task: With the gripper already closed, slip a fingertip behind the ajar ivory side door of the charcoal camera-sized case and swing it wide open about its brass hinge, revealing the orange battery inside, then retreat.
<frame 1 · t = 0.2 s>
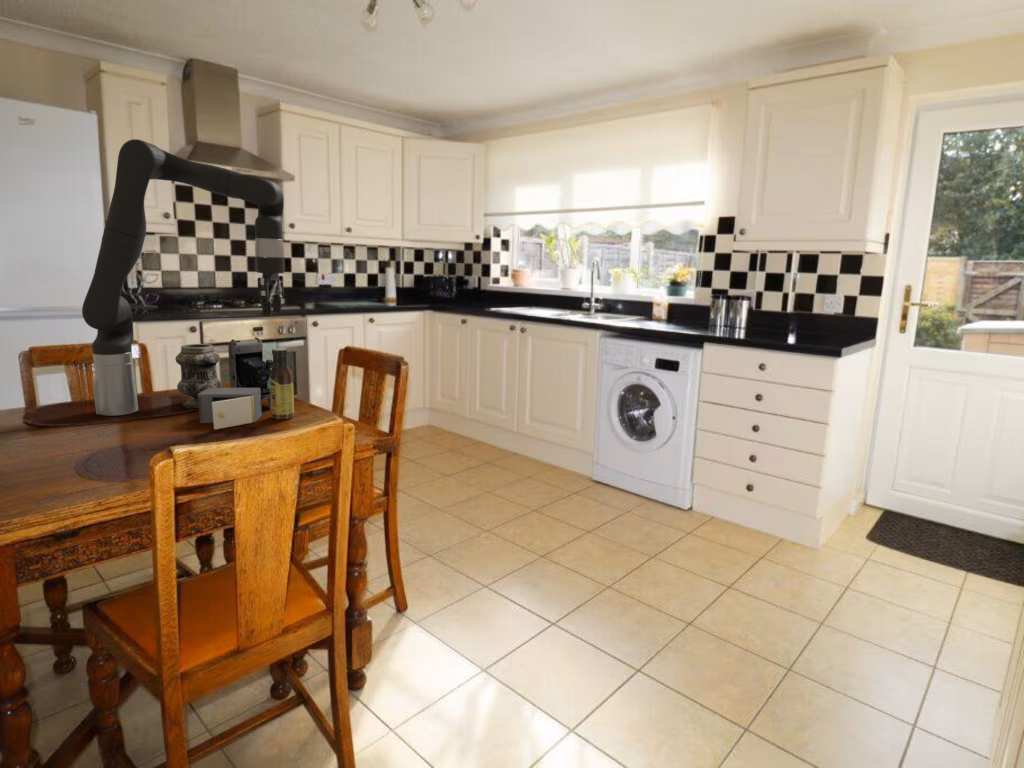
hand: (272, 313, 172), 29 cm above the table, fingers open, 8 cm apart
apothecary jar: (201, 404, 184), on the table
door: (235, 412, 161), point 4 cm above the table, hinge at 40.0°
vintage camera: (259, 405, 186), on the table
sauce bottle: (283, 418, 172), on the table
case: (231, 418, 170), on the table
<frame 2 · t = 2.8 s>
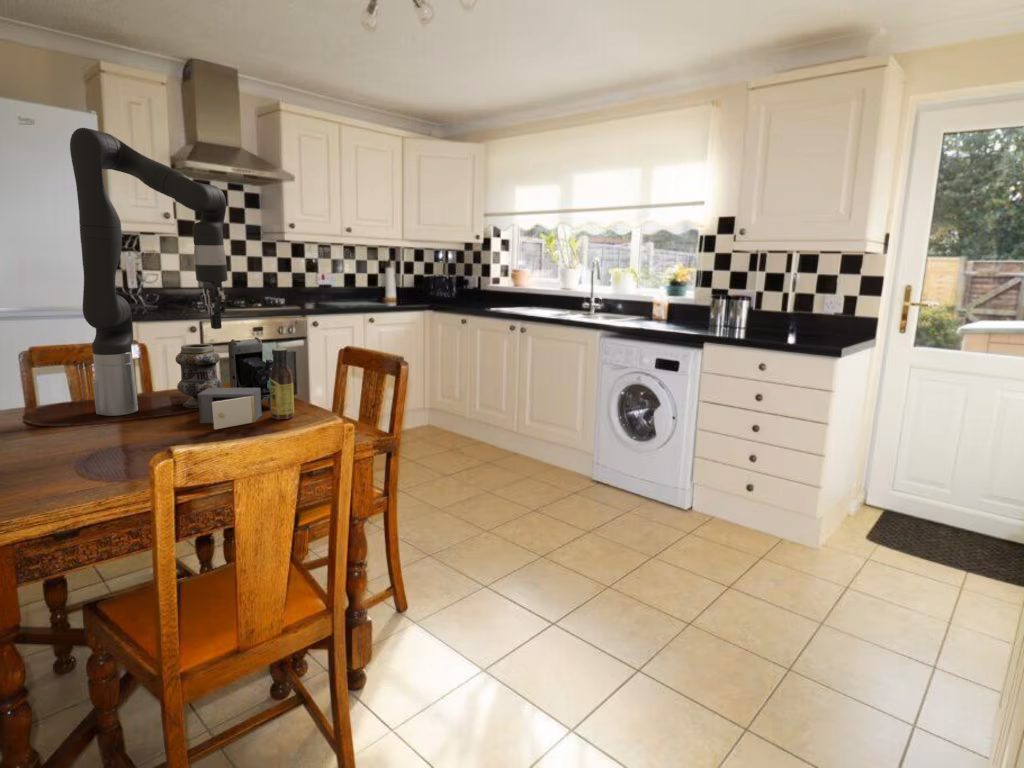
hand: (216, 328, 164), 25 cm above the table, fingers closed
nothing on the table moved.
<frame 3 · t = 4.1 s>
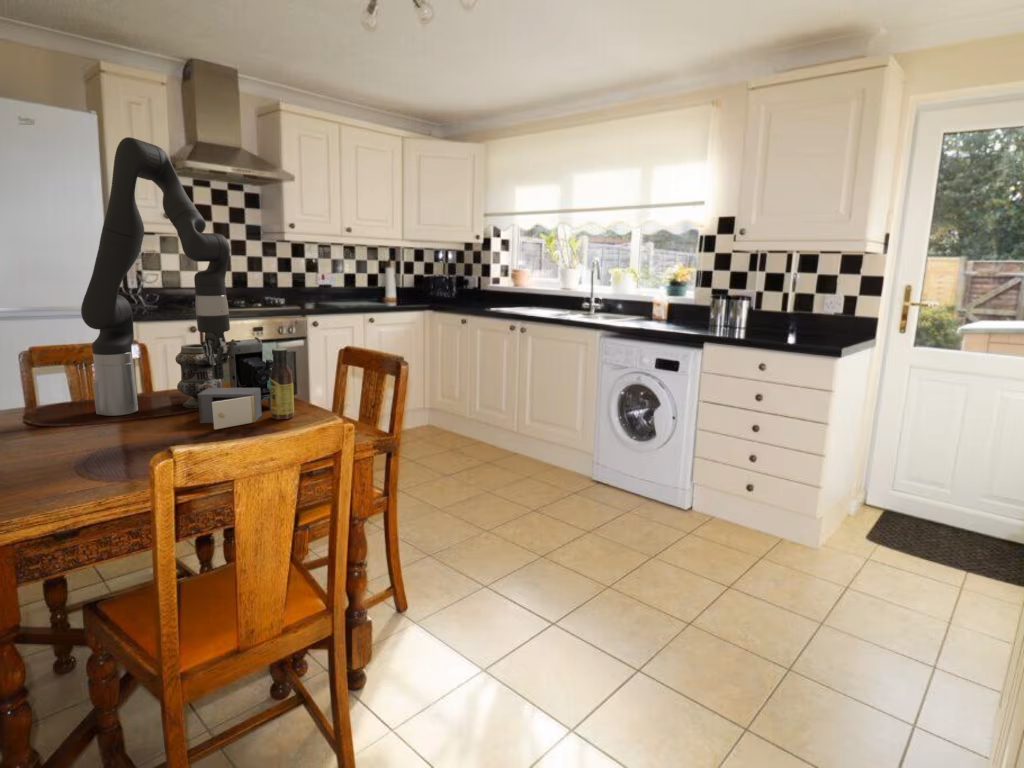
hand: (218, 378, 160), 13 cm above the table, fingers closed
nothing on the table moved.
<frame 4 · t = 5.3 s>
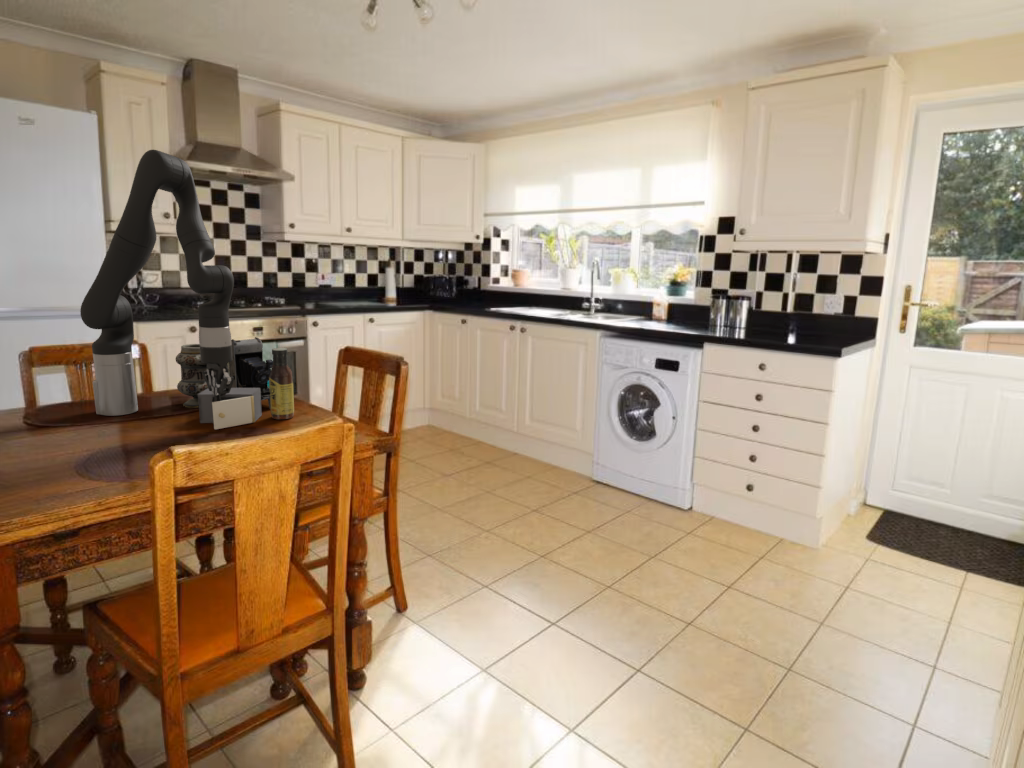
hand: (220, 408, 161), 5 cm above the table, fingers closed
door: (235, 412, 161), point 4 cm above the table, hinge at 40.4°, touching gripper
everything else where it was.
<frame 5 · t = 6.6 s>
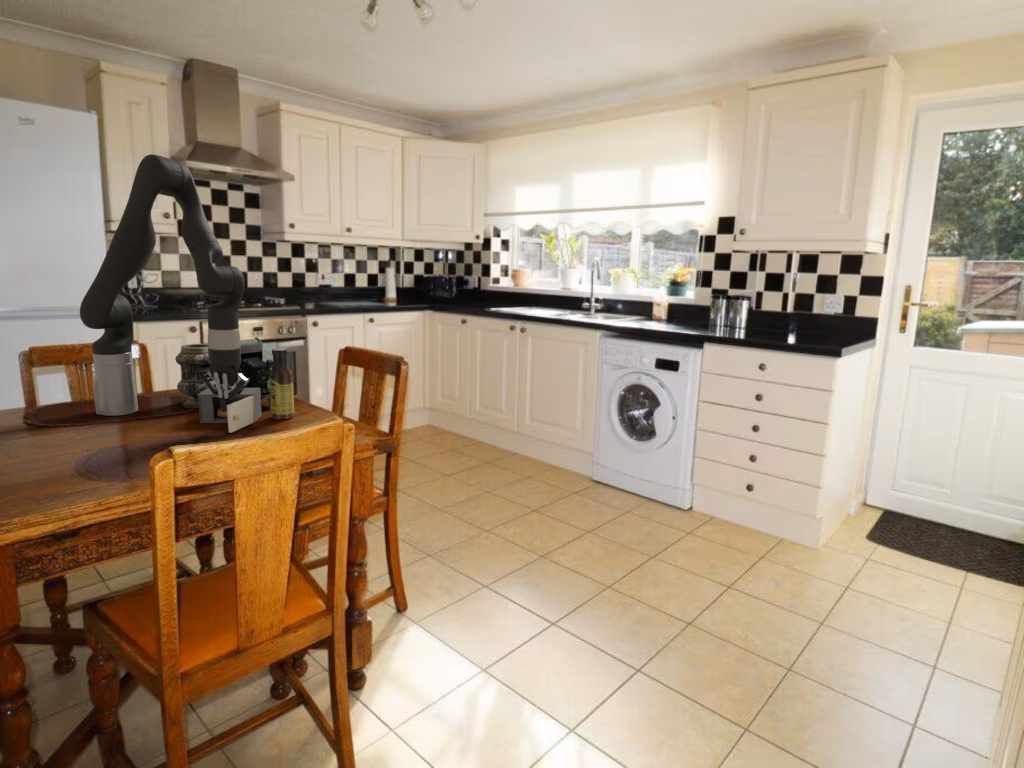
hand: (227, 411, 159), 5 cm above the table, fingers closed
door: (243, 413, 160), point 4 cm above the table, hinge at 72.9°, touching gripper
everything else where it was.
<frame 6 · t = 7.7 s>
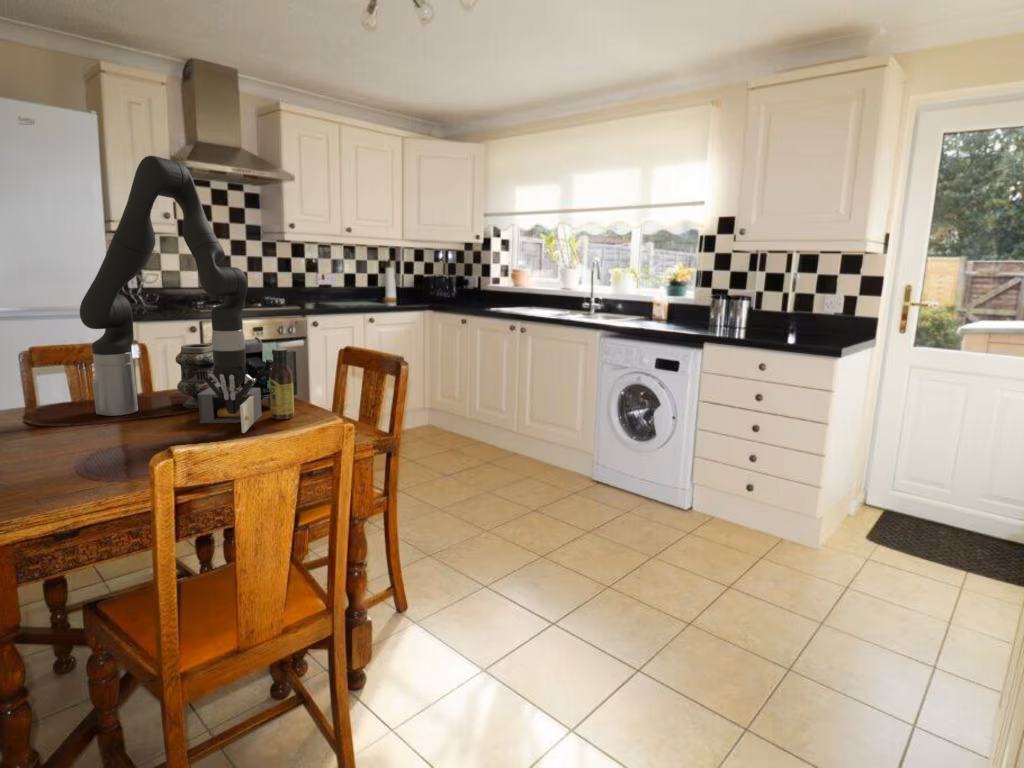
hand: (233, 413, 158), 5 cm above the table, fingers closed
door: (249, 413, 161), point 4 cm above the table, hinge at 92.2°
everything else where it was.
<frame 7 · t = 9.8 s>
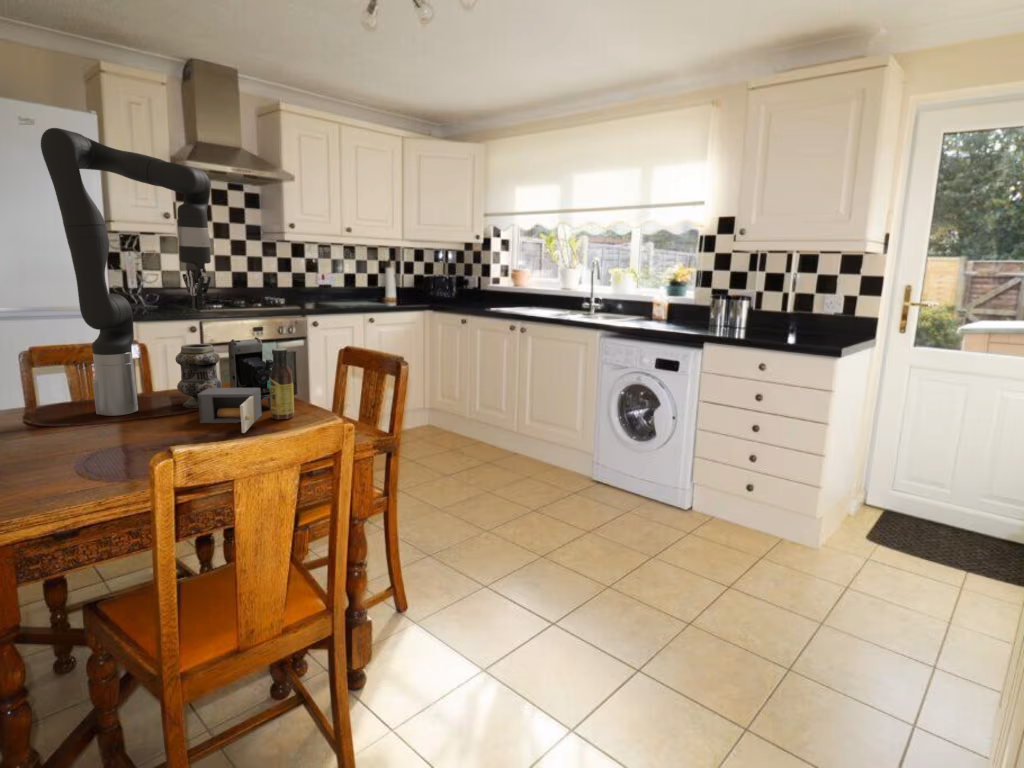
hand: (198, 309, 167), 30 cm above the table, fingers closed
nothing on the table moved.
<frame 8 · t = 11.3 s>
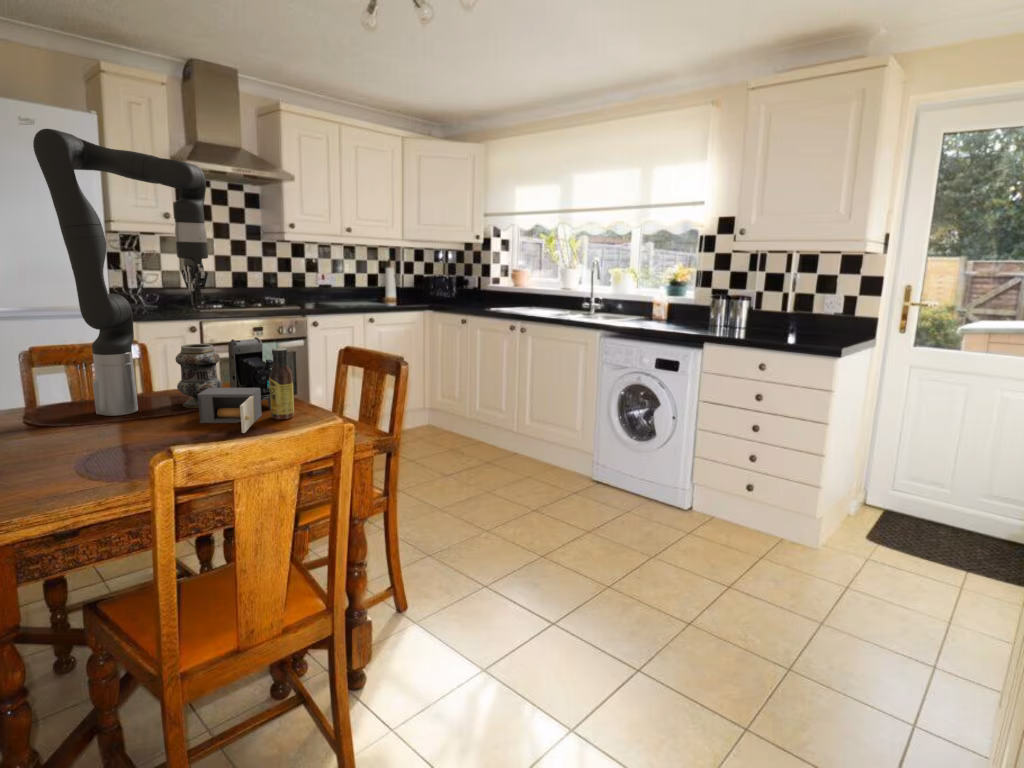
hand: (196, 304, 168), 31 cm above the table, fingers closed
nothing on the table moved.
at the end: door at +92° (first picture: +40°) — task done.
